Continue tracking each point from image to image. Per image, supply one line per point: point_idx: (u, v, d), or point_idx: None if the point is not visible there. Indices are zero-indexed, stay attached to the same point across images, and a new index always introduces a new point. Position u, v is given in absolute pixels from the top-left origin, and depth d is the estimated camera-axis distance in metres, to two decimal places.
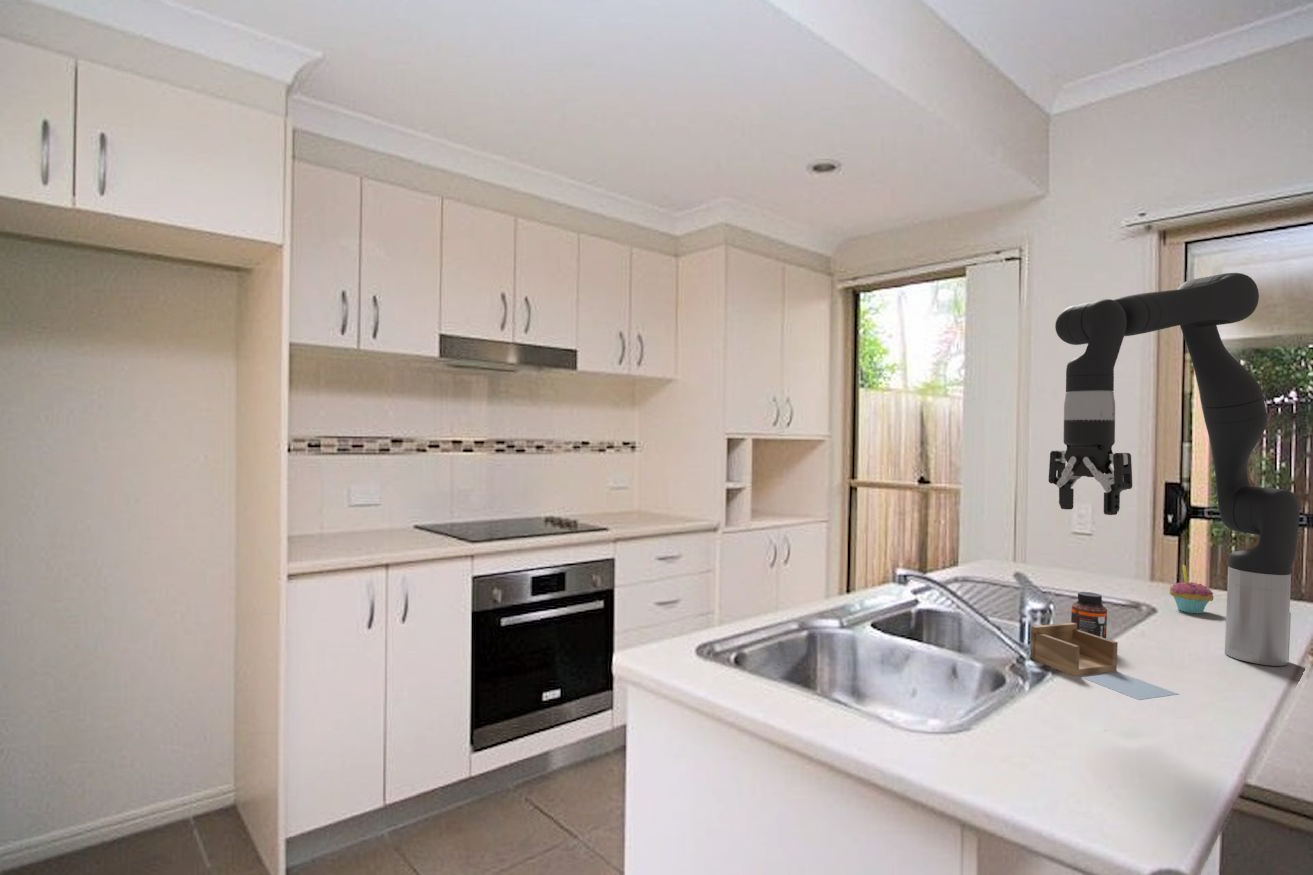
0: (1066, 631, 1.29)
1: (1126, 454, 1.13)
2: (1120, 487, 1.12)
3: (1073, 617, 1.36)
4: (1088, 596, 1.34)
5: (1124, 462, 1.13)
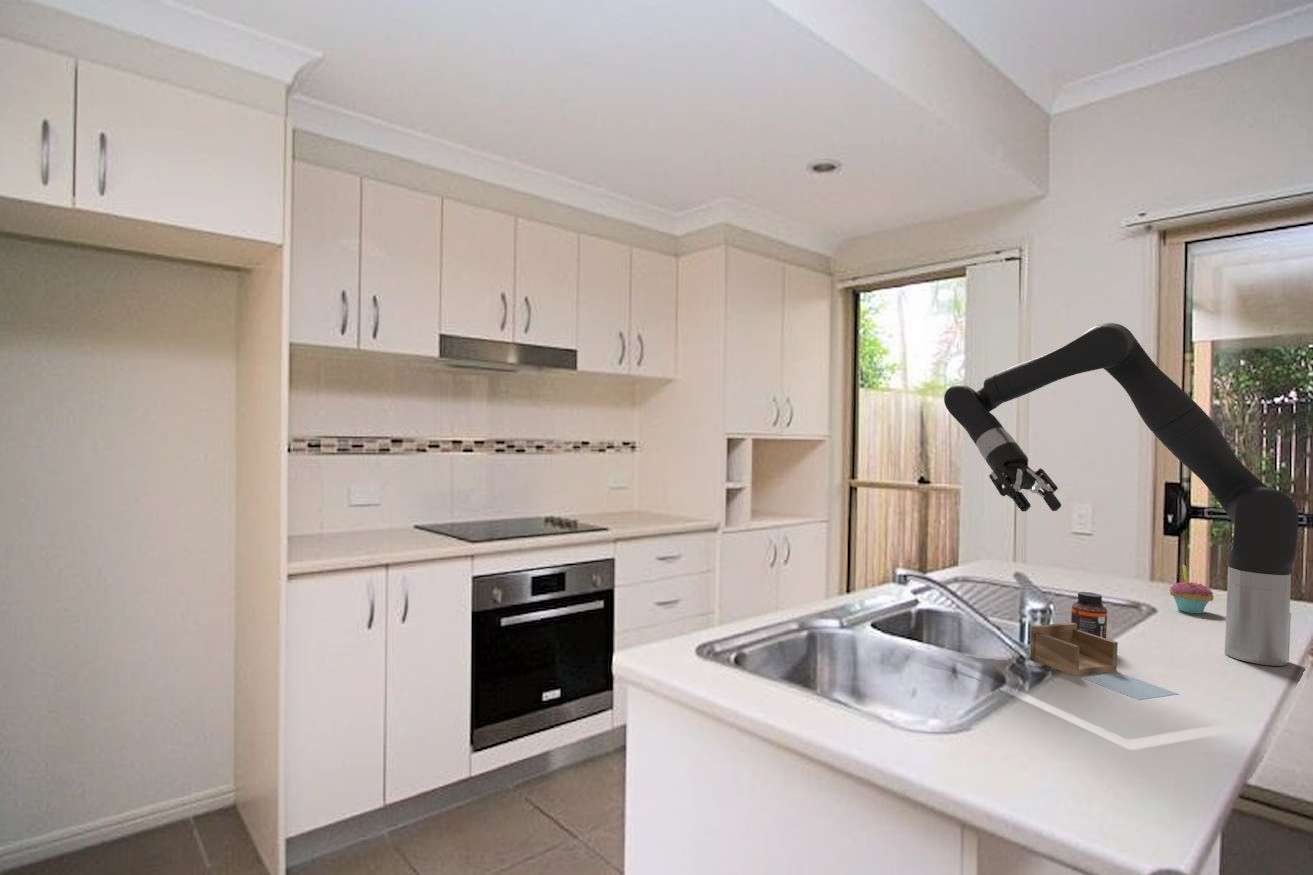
0: (1066, 631, 1.29)
1: (993, 471, 1.50)
2: (1001, 494, 1.48)
3: (1073, 617, 1.36)
4: (1088, 596, 1.34)
5: (994, 477, 1.50)
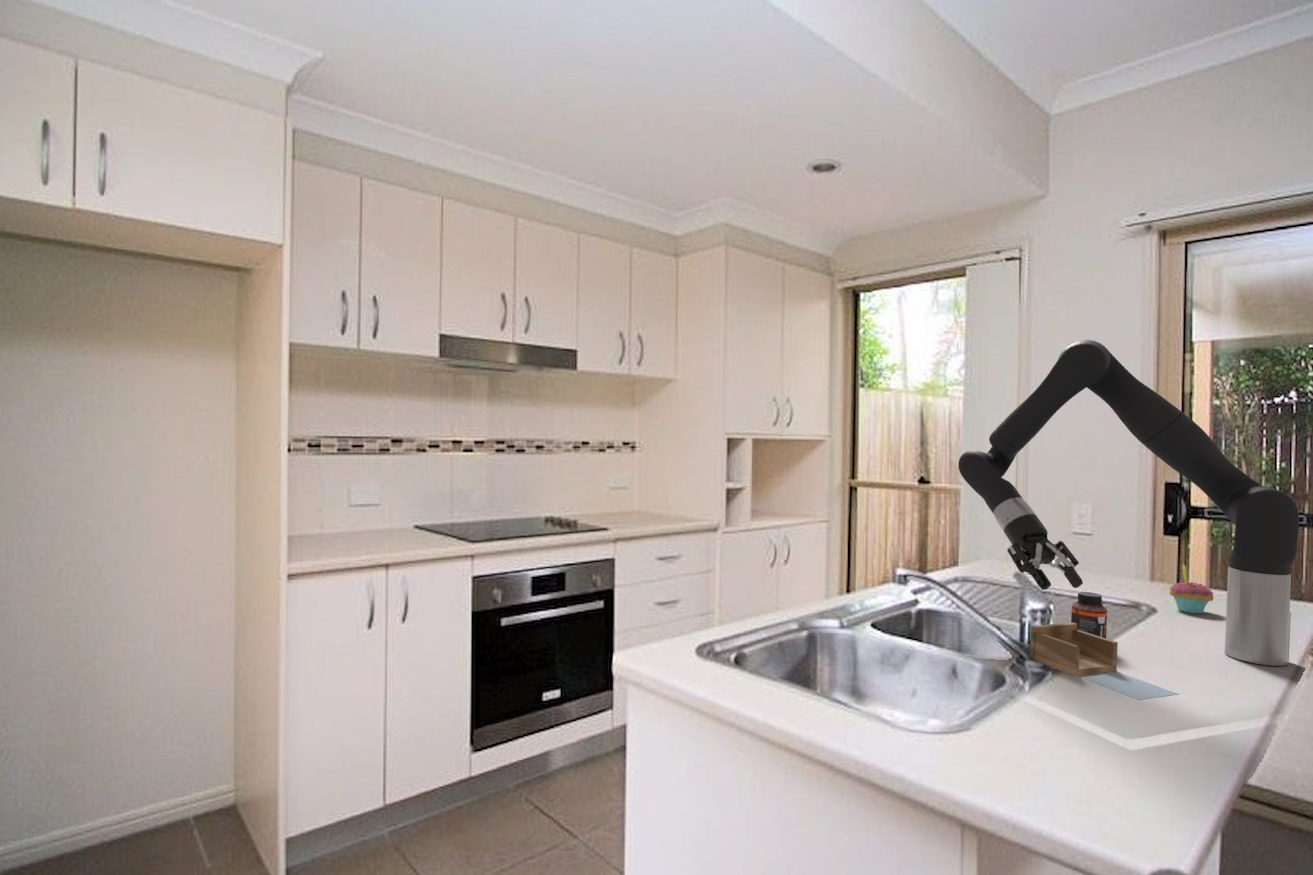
0: (1066, 631, 1.29)
1: (1011, 545, 1.46)
2: (1020, 571, 1.43)
3: (1073, 617, 1.36)
4: (1088, 596, 1.34)
5: (1012, 552, 1.45)
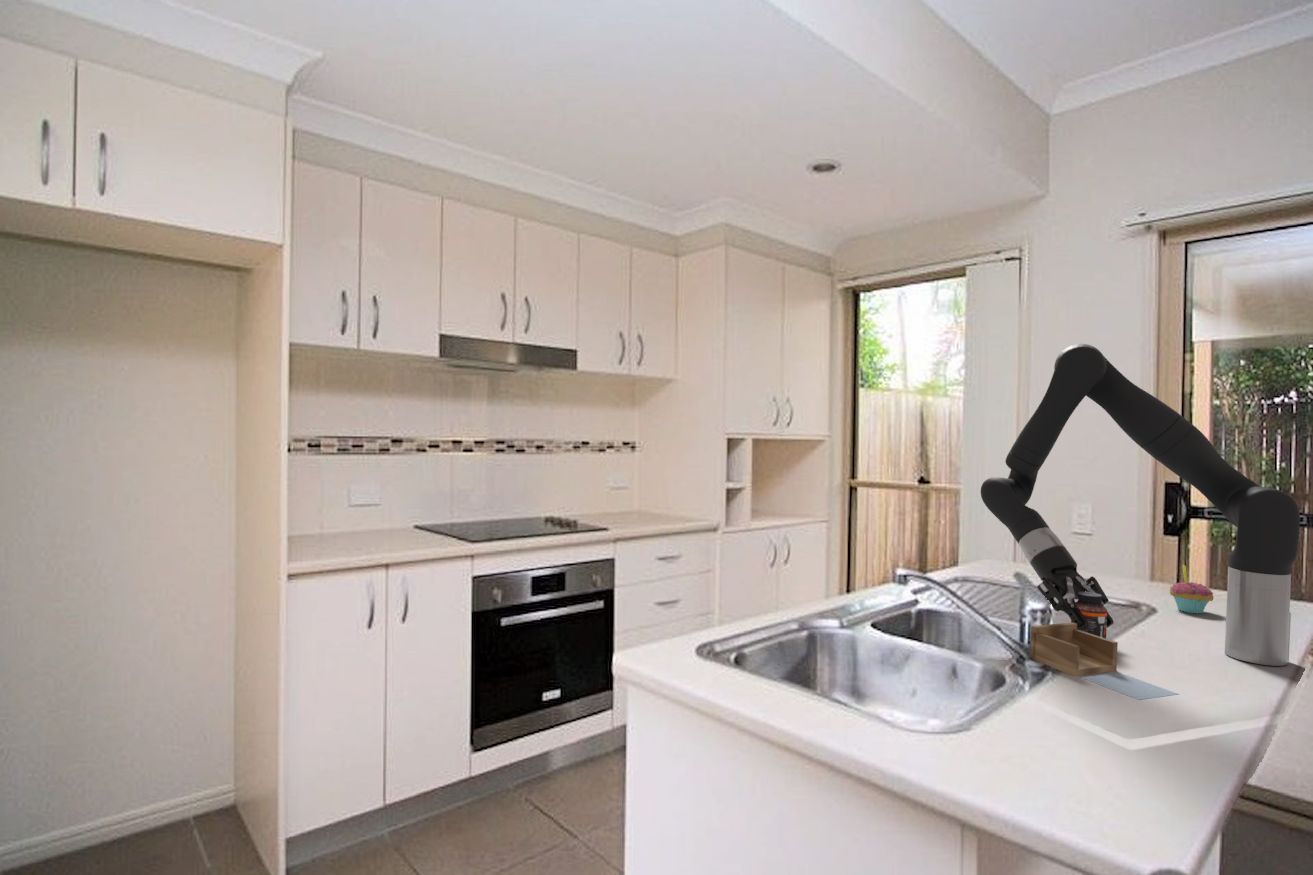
0: (1066, 631, 1.29)
1: (1042, 582, 1.38)
2: (1055, 609, 1.36)
3: None
4: (1088, 596, 1.34)
5: (1044, 590, 1.38)
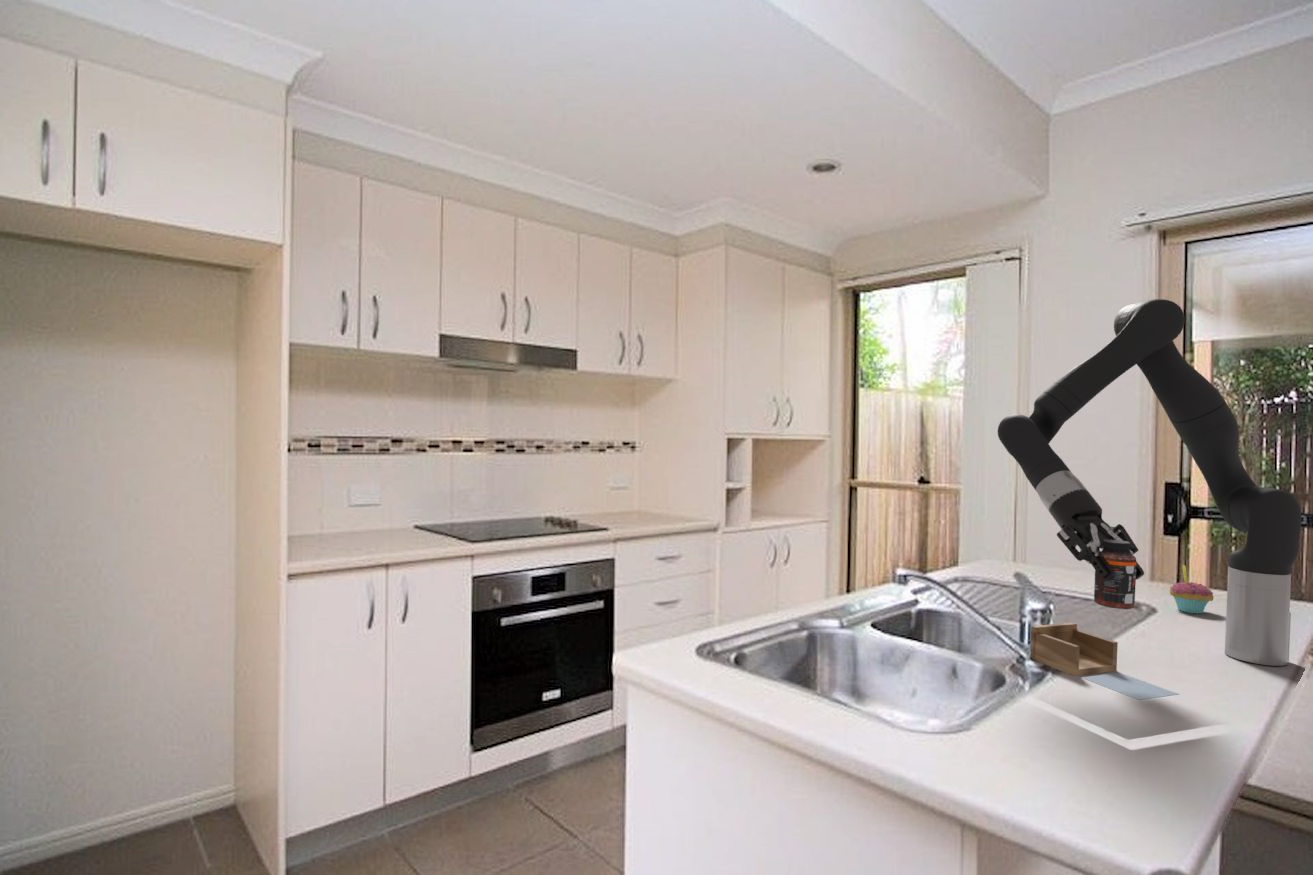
0: (1066, 631, 1.29)
1: (1062, 529, 1.23)
2: (1077, 559, 1.21)
3: None
4: (1115, 543, 1.19)
5: (1064, 537, 1.22)
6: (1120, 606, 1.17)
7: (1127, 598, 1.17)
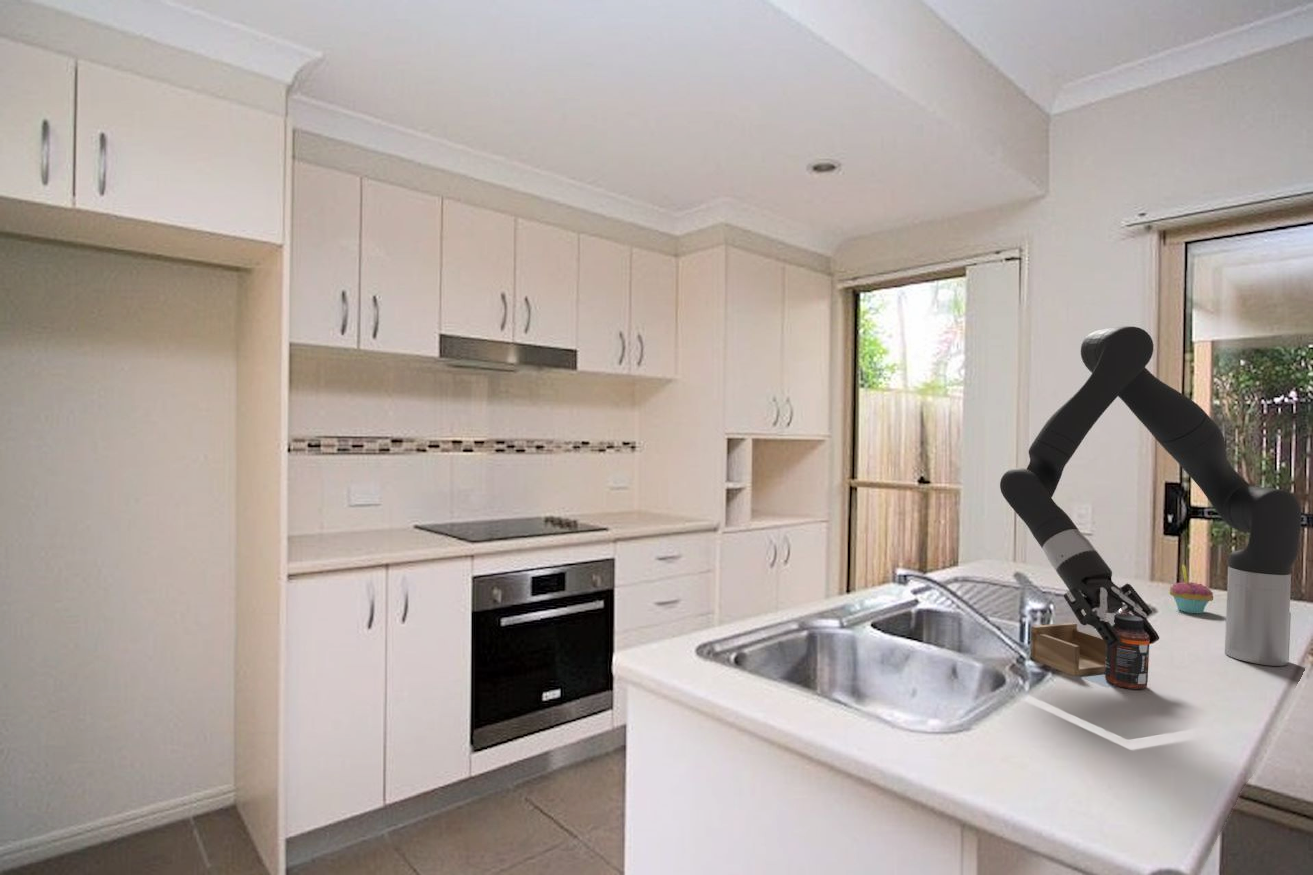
0: (1066, 631, 1.29)
1: (1069, 590, 1.18)
2: (1081, 623, 1.15)
3: None
4: (1127, 620, 1.14)
5: (1071, 599, 1.17)
6: (1133, 686, 1.13)
7: (1141, 678, 1.12)
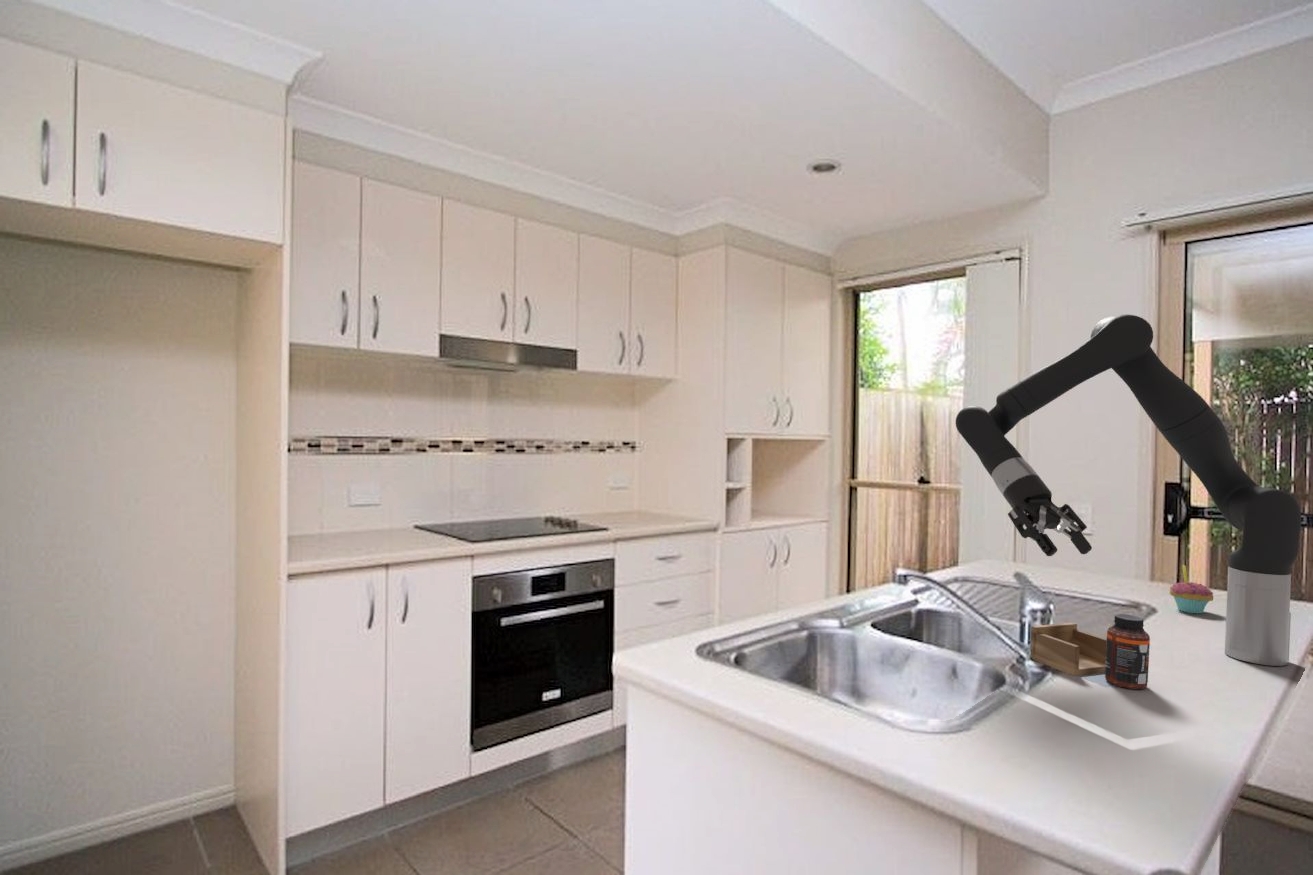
0: (1066, 631, 1.29)
1: (1012, 509, 1.32)
2: (1023, 536, 1.29)
3: (1109, 644, 1.15)
4: (1127, 620, 1.14)
5: (1014, 516, 1.31)
6: (1133, 686, 1.13)
7: (1141, 678, 1.12)
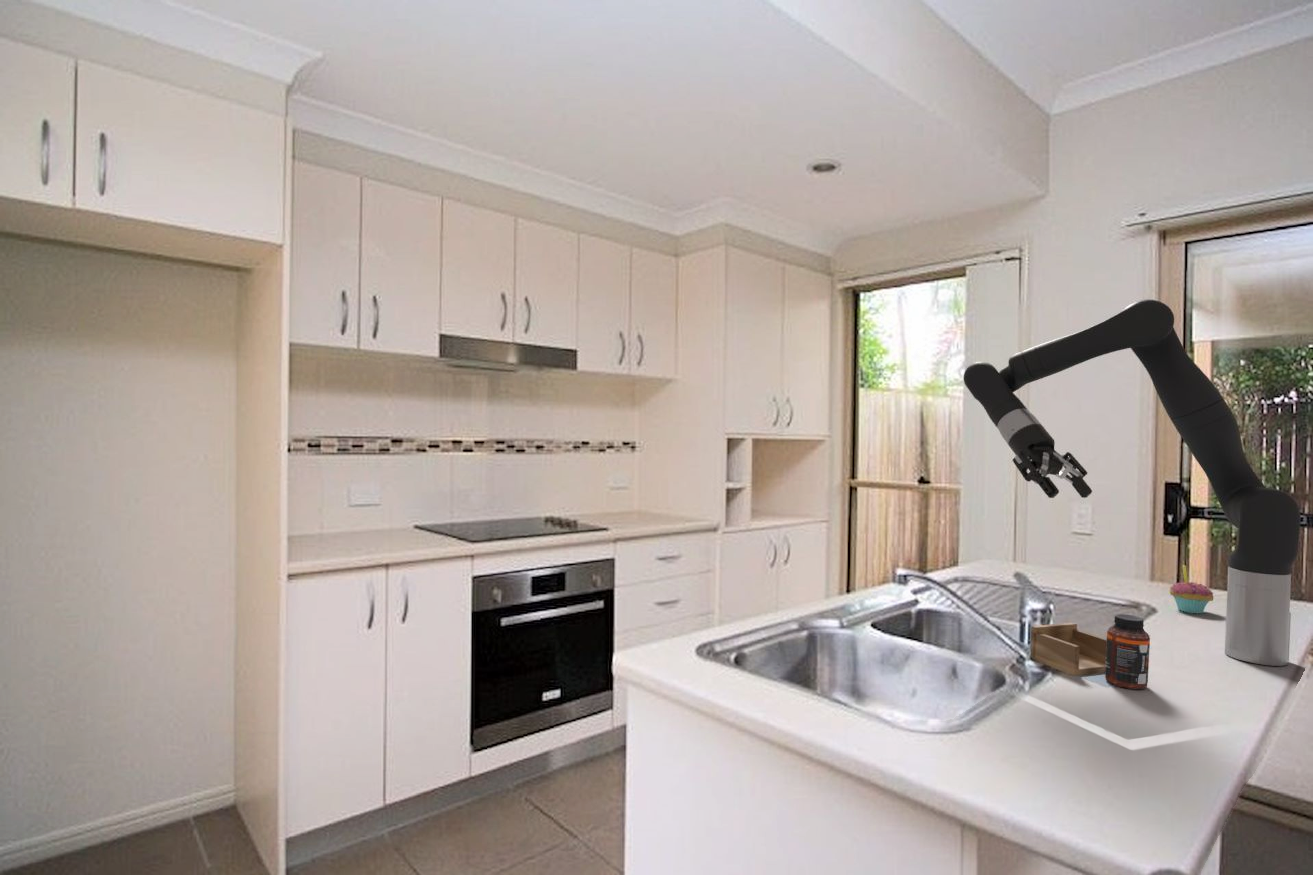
0: (1066, 631, 1.29)
1: (1017, 454, 1.39)
2: (1026, 480, 1.36)
3: (1109, 644, 1.15)
4: (1128, 620, 1.14)
5: (1018, 461, 1.38)
6: (1133, 686, 1.13)
7: (1141, 678, 1.12)
